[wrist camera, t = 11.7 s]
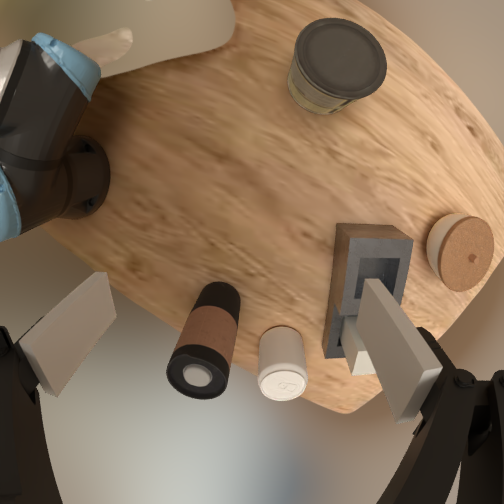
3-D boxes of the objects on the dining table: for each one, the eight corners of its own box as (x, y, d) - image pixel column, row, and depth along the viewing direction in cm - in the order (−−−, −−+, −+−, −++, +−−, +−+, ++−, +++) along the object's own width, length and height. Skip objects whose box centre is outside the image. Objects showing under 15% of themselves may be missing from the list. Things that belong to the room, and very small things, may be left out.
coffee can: (297, 46, 34) (309, 5, 21) (359, 70, 35) (394, 41, 22) (277, 101, 38) (282, 77, 25) (341, 125, 38) (374, 114, 25)
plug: (338, 335, 49) (351, 375, 39) (343, 307, 47) (359, 346, 37) (363, 333, 49) (380, 372, 38) (369, 306, 47) (390, 343, 36)
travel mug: (234, 323, 51) (218, 407, 32) (194, 309, 50) (160, 387, 31) (248, 288, 48) (236, 369, 29) (205, 273, 48) (170, 347, 29)
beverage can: (270, 318, 50) (270, 362, 39) (309, 332, 51) (318, 376, 39) (253, 350, 53) (249, 395, 41) (290, 362, 53) (294, 406, 42)
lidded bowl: (429, 283, 46) (457, 311, 36) (404, 231, 43) (437, 253, 33) (472, 245, 43) (506, 266, 33) (453, 192, 40) (491, 205, 30)
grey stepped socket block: (321, 345, 52) (328, 373, 44) (336, 223, 44) (350, 237, 36) (369, 343, 51) (381, 368, 44) (392, 225, 43) (413, 239, 36)
